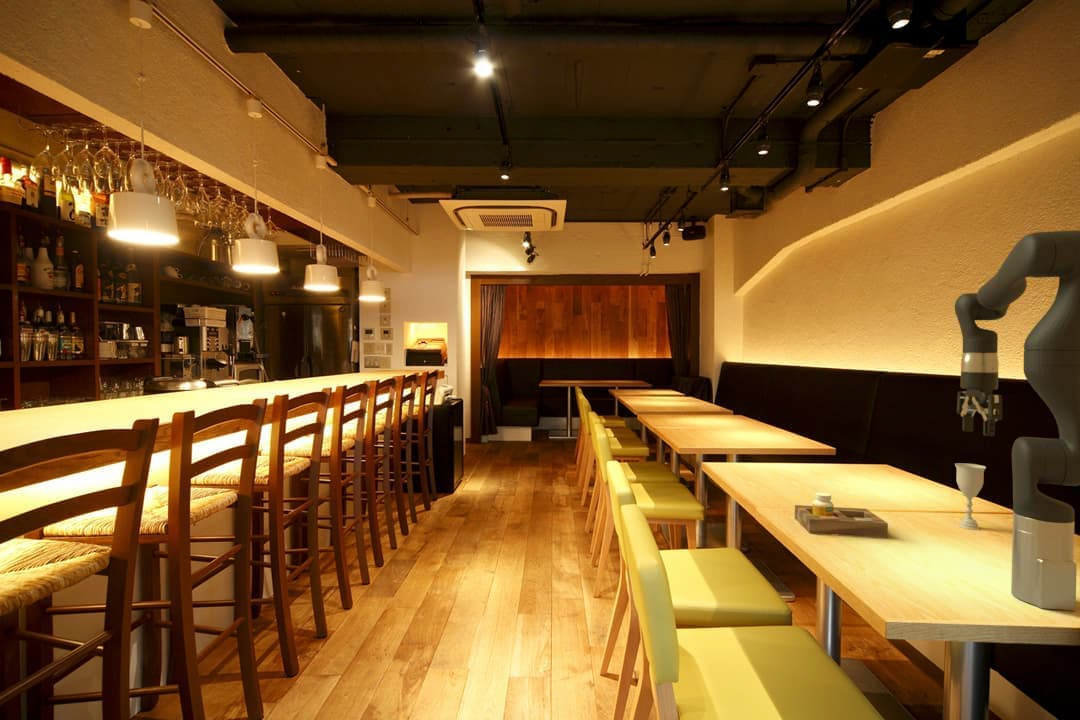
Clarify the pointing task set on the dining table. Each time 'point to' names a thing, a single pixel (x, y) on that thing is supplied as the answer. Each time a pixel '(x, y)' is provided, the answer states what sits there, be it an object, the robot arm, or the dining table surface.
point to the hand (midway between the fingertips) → (978, 433)
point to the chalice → (969, 489)
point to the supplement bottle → (822, 505)
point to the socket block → (842, 522)
